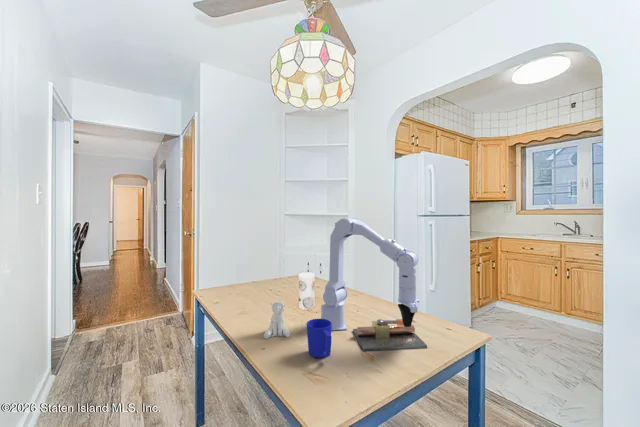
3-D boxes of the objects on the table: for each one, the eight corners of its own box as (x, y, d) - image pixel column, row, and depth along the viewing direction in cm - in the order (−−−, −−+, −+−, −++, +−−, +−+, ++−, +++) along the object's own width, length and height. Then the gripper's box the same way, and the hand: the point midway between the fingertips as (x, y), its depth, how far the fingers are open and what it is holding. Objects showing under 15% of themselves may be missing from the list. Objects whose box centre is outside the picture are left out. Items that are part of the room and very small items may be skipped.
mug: (317, 369, 85) (316, 335, 84) (302, 350, 96) (302, 320, 96) (341, 362, 88) (341, 330, 88) (325, 345, 99) (325, 316, 99)
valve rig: (363, 351, 95) (363, 336, 95) (352, 331, 111) (352, 318, 111) (427, 347, 97) (427, 333, 97) (407, 328, 113) (407, 316, 113)
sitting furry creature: (263, 339, 104) (263, 306, 104) (264, 329, 113) (264, 299, 113) (290, 337, 106) (289, 304, 106) (288, 328, 114) (288, 297, 114)
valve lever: (377, 325, 105) (377, 321, 105) (376, 322, 107) (376, 318, 107) (411, 325, 104) (411, 321, 104) (409, 322, 107) (409, 319, 107)
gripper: (426, 293, 93) (426, 335, 93) (411, 281, 107) (411, 318, 107) (405, 293, 93) (404, 335, 93) (393, 281, 107) (392, 318, 107)
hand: (407, 326), depth 100 cm, fingers closed
